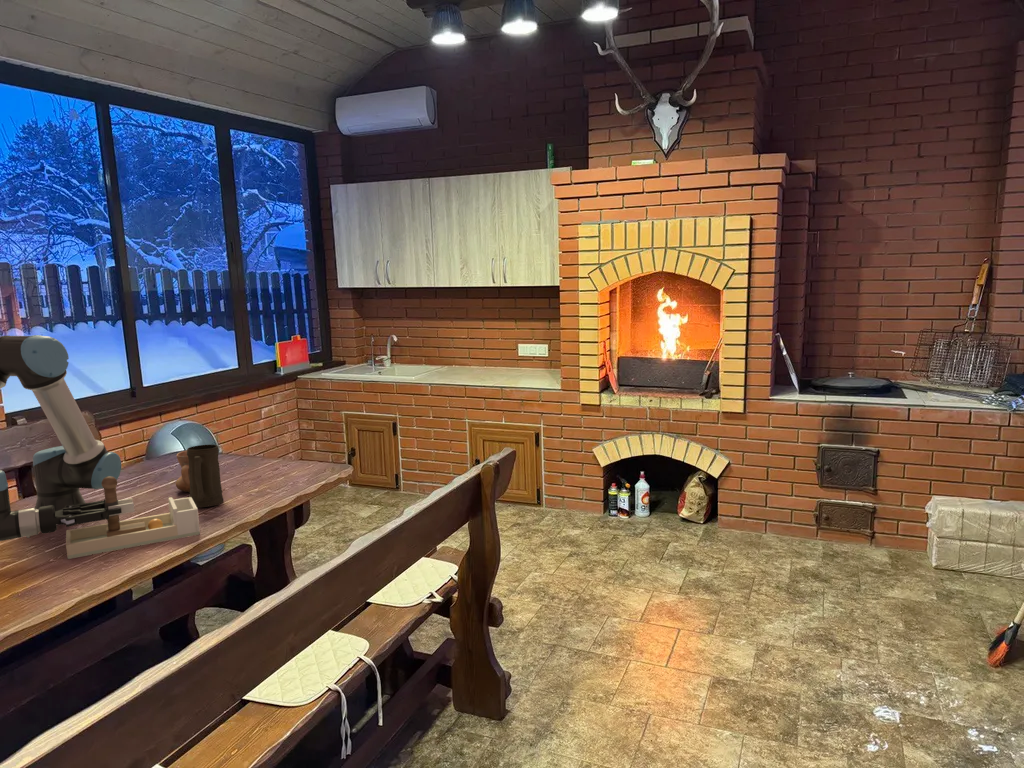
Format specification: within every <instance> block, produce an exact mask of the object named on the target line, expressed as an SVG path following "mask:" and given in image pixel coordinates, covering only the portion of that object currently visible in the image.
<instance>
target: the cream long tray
mask: <svg viewBox="0 0 1024 768" xmlns="http://www.w3.org/2000/svg"><path fill="white" fill-rule="evenodd" d="M167 504H168V512H165V513H161V514H160V513H159V514H155V515H149V516H141V517H137V518H131V519H124V520H119V522H120V526H121V525H127V524H133V523H139V522H144V523H145V526H146V530H144V531H138V532H132V533H127V534H121V535H116V536H110V537H107V531H106V528H108V522H107V523H102V524H96V525H89V526H84V527H76V528H71V529H67V530H66V533H65V534H66V535H65V548H66V549H65V550H66V556H67V560H70V559H75V558H81V557H86V556H87V557H88V556H92V554H93V555H98V554H103V553H109V552H113V550H114V551H117V550H118V551H119V550H125V549H129V548H135V547H139V546H140V545H141V546H145V545H151V544H156V543H161V542H162V543H163V542H167V541H172V540H173V541H174V540H178V539H183V538H188V536H189V537H192V536H193V535H194V536H198V535H199V534H200V533H201V532H200V530H201V529H200V521H199V518H200V517H199V509H198V507H196V505H195V503H194V501H193V499H192V497H182V498H176V499H174V498H173V497H172V496H171V497H168V503H167ZM152 519H160V520H161V521H162V522H163V527H161V528H155V529H149V528H148V524H149V522H150V521H151V520H152ZM200 535H201V534H200ZM194 536H193V537H194ZM150 543H151V544H150ZM124 548H125V549H124ZM102 552H103V553H102Z"/></svg>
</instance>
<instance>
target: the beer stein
mask: <svg viewBox="0 0 1024 768" xmlns="http://www.w3.org/2000/svg"><path fill="white" fill-rule="evenodd" d="M186 450H187V456H188V460H189V474H190V492H189V497H192V499H193V501H194V503H195V505H196V507H197V508H208V507H213V506H217V505H221V504H222V503H223V502H225V501H224V496H223V489H222V480H221V471H220V470H221V469H220V463H219V452H220V449H219V446H218V444H200V445H194V446H190V447H187V449H186Z"/></svg>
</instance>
